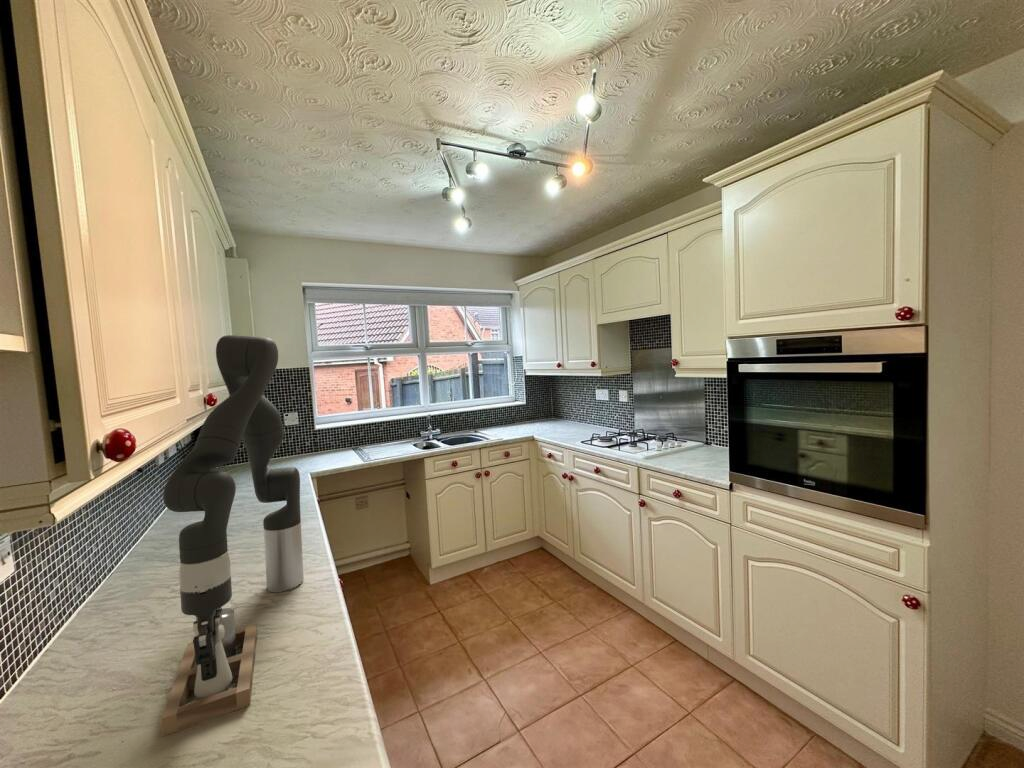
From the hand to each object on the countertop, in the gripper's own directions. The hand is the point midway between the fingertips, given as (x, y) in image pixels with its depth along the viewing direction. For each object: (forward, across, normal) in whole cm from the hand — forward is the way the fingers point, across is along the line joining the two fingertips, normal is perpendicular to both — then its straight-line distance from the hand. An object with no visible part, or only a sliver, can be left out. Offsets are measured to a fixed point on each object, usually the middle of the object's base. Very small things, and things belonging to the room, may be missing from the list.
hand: (211, 669), depth 76 cm
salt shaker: (+5, 0, 0) cm, 5 cm away
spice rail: (+5, -5, 0) cm, 7 cm away
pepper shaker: (+5, -10, 0) cm, 12 cm away
